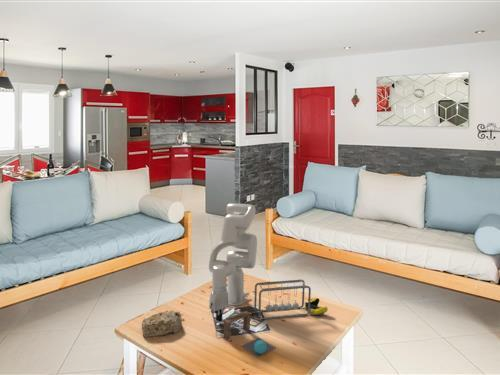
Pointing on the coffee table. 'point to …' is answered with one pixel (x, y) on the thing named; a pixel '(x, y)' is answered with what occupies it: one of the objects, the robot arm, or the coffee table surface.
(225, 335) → the bridge
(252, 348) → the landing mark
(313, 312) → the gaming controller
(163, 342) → the coffee table surface
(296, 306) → the newton's cradle
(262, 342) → the ball
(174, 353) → the coffee table surface
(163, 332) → the rock
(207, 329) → the coffee table surface
